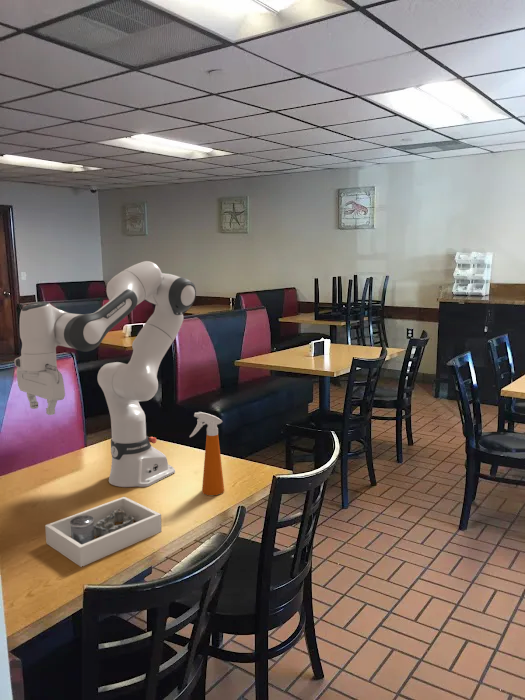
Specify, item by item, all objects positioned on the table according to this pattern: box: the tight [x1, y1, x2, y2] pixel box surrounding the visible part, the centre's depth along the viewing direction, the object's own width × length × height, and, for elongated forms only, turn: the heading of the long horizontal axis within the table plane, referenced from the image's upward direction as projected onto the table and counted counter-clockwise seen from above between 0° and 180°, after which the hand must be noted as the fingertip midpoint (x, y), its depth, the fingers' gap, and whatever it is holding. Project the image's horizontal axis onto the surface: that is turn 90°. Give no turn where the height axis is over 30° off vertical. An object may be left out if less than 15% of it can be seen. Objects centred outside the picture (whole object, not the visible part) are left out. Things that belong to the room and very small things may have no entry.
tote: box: [44, 496, 162, 568], centre depth 148 cm, size 24×17×5 cm
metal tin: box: [70, 515, 95, 545], centre depth 144 cm, size 6×6×7 cm
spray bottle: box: [189, 411, 225, 496], centre depth 175 cm, size 7×11×26 cm, turn 110°
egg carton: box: [94, 508, 135, 537], centre depth 152 cm, size 11×8×4 cm
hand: (42, 411), depth 156 cm, fingers open, 8 cm apart
